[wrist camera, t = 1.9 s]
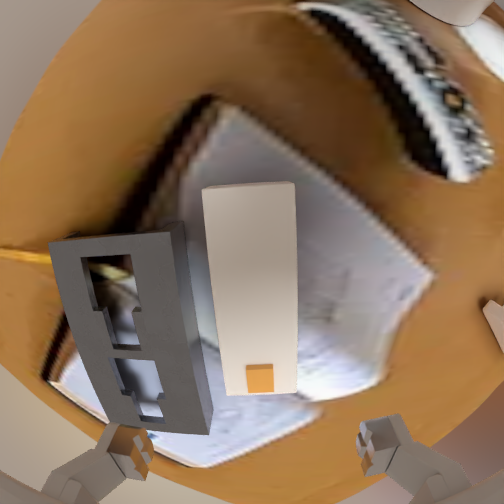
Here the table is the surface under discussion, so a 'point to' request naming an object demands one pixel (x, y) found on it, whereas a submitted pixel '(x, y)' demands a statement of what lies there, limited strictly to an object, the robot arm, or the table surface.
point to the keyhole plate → (139, 326)
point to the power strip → (254, 284)
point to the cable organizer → (495, 320)
